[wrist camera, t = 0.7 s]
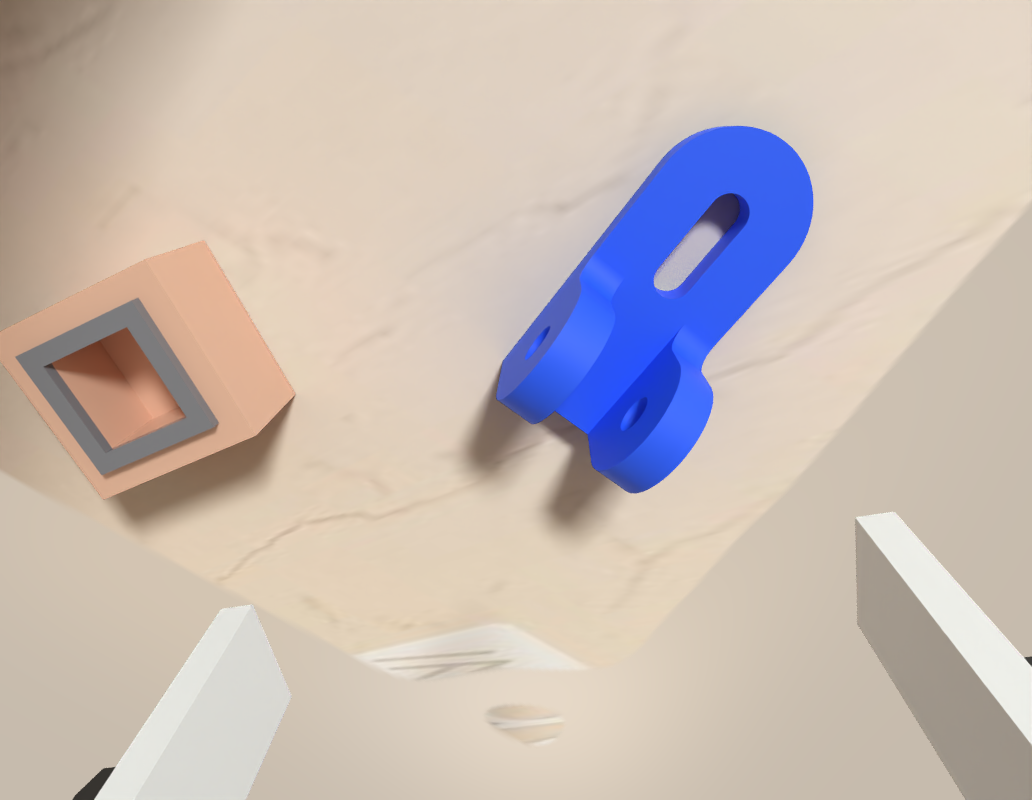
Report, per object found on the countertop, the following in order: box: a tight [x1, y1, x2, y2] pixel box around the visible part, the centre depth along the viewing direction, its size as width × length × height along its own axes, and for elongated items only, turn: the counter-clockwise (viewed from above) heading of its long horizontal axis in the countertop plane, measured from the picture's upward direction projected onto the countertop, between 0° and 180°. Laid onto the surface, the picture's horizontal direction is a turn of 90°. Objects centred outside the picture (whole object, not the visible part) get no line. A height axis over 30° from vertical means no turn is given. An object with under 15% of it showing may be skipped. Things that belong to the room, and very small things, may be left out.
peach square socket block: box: [0, 241, 295, 500], centre depth 38 cm, size 10×10×7 cm
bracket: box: [496, 126, 813, 493], centre depth 34 cm, size 18×8×9 cm, turn 143°
